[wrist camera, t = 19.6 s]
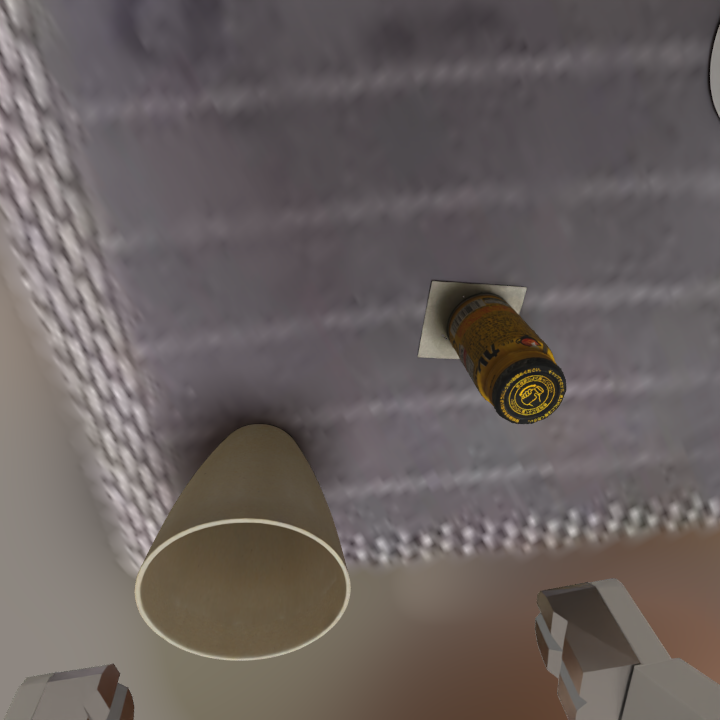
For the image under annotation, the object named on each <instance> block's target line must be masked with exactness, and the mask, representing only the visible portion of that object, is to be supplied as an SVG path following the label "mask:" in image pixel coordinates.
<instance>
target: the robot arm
mask: <svg viewBox="0 0 720 720" xmlns="http://www.w3.org/2000/svg"><path fill="white" fill-rule="evenodd" d="M710 85H711V93H712V98H713V102H714V105H715V108H716V111H717V113H718V115H719V117H720V26H719V28H718V31H717V35H716V38H715V42H714V46H713V51H712V57H711V66H710ZM537 605H538V607H539V609H540V612H541V613H540V614H539V615H538V616H537V617H536V618H535V632H536V638H537V644H538V647H539V650H540V653H541V656H542V658H543V661H544V663H545V666H546V668H547V670H548V671H549V672H551V673H552V674H553V675H555V676H556V677H557V678H558V679H559V683H558V692H557V694H558V697H559V699H560V701H561V703H562V706H563V708H564V710H565V713H566V715H567V717H568V720H720V685H719V684H718V683H716V682H714V681H713V680H712V679H710V678H709V677H707V676H706V675H704V674H703V673H701V672H699V671H698V670H697V669H695V668H694V667H692V666H691V665H689V664H688V663H686V662H685V661H683V660H682V659H680V658H676V659H671V657H670V656H669V654H668V653H667V651H666V650H665V648H664V647H663V645H662V644H661V642H660V641H659V639H658V637H657V636H656V634H655V633H654V631H653V630H652V628H651V627H650V625H649V624H648V622H647V621H646V619H645V618H644V616H643V615H642V613H641V611H640V610H639V608H638V607H637V605H636V604H635V602H634V601H633V599H632V598H631V596H630V595H629V593H628V592H627V590H626V589H625V587H624V586H623V584H622V583H621V582H620V581H618V580H617V579H613V578H612V579H606V580H601V581H596V582H591V583H588V582H586V583H580V584H575V585H570V586H565V587H559V588H554V589H548V590H543V591H540V592H539V593H538V595H537ZM119 677H120V672H119V671H118V670H117V668H116V666H115V665H114V664H108V665H102V666H96V667H89V668H83V669H77V670H70V671H64V672H55V673H49V674H44V675H38V676H32V677H27V678H26V679H25V681H24V682H23V683H22V684H21V686H19V688H18V690H17V692H16V694H15V696H14V698H13V701H12V703H11V705H10V707H9V709H8V711H7V714H6V716H5V718H4V720H134V702H133V697H132V694H131V692H130V690H129V689H128V687H126V686H124V685H121V684H119V683H118V680H119Z"/></svg>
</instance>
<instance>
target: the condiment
mask: <svg viewBox="0 0 720 720" xmlns="http://www.w3.org/2000/svg"><path fill="white" fill-rule="evenodd" d="M526 289H527V288H525V287H513V286H500V285H487V284H468V283H456V282H437V281H432V285H431V290H430V294H429V299H428V304H427V309H426V314H425V320H424V325H423V331H422V337H421V341H420V348H419V353H418V357H425V358H447V359H460V360H461V362H462V363H463V365H464V366H465V368H466V370H467V372H468V373H469V375H470V377H471V379H472V380H473V382H474V384H475V385H476V387H477V389H478V390H479V392H480V393H481V395H482V396H483V397H484V399H485V400H487V401H488V402H490V403H491V404H492V405H493V406H494V408H495V409H496V412H497V413H498V414H499V415H500V416H501V417H502V418H504V419H506V420H508V421H510V422H511V423H516V424H532V423H535V422H537V421H540V420H543V419H545V418H547V417H548V416H549V415H551V414H552V413H553V412H554V411H555V410H556V409H557V408H558V407H559V406H560V404H561V402H562V400H563V397H564V395H565V392H566V380H565V377H564V374H563V372H562V370H561V369H560V367H559V366H557V364H556V363H555V360H554V357H553V354H552V352H551V350H550V349H549V348H548V346H547V345H546V344H545V343H544V341H543V340H542V339H540V338H539V336H538V335H537V334H536V333H535V331H534V330H532V329H531V328H530V327H529V325H528V324H527V323H526V322H525V321H524V320H523V319H522V318H521V317H520V315H519V313H520V310H521V307H522V304H523V300H524V296H525V293H526ZM463 296H464V297H463ZM442 334H443V335H444V336H445V337H447V340H446V339H445V337H443V336H442Z"/></svg>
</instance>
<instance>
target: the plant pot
mask: <svg viewBox="0 0 720 720" xmlns="http://www.w3.org/2000/svg"><path fill="white" fill-rule="evenodd" d="M350 591H351V585H350V578H349V574H348V570H347V567H346V563H345V559H344V555H343V552H342V548H341V545H340V541H339V537H338V534H337V531H336V527H335V524H334V521H333V518H332V515H331V513H330V510H329V507H328V505H327V502H326V500H325V497H324V495H323V492H322V490H321V488H320V486H319V483H318V481H317V479H316V477H315V475H314V473H313V471H312V469H311V467H310V465H309V464H308V462H307V460H306V458H305V457H304V455H303V453H302V452H301V450H300V449H299V447H298V446H297V444H296V443H295V441H294V440H293V439H292V437H291V436H290V435H288V434H287V433H286V432H285V431H283V430H282V429H280V428H277V427H275V426H271V425H266V424H252V425H247V426H244V427H241V428H239V429H237V430H236V431H234V432H233V433H231V434H230V435H229V436H228V437H227V438H226V439H225V440H224V441H223V442H222V443H221V444H220V445H219V446H218V447H217V448H216V449H215V450H214V451H213V452H212V453H211V455H210V456H209V457H208V458H207V459H206V461H205V462H204V463H203V464H202V465H201V467H200V468H199V469H198V471H197V472H196V473H195V475H194V476H193V477H192V479H191V480H190V482H189V483H188V484H187V486H186V487H185V489H184V490H183V492H182V493H181V495H180V496H179V498H178V500H177V501H176V503H175V504H174V506H173V508H172V509H171V511H170V513H169V515H168V516H167V518H166V520H165V522H164V523H163V525H162V527H161V529H160V531H159V533H158V535H157V537H156V538H155V540H154V542H153V544H152V546H151V548H150V550H149V552H148V554H147V556H146V558H145V560H144V562H143V564H142V566H141V568H140V570H139V573H138V575H137V578H136V584H135V599H136V604H137V607H138V610H139V612H140V614H141V616H142V617H143V619H144V620H145V622H146V623H147V624H148V626H149V627H150V628H151V629H152V630H153V631H154V632H155V633H157V634H158V635H159V636H161V637H162V638H164V639H165V640H166V641H167V642H169V643H171V644H173V645H175V646H177V647H178V648H181V649H183V650H185V651H188V652H191V653H194V654H196V655H200V656H204V657H208V658H214V659H221V660H238V661H239V660H257V659H264V658H270V657H275V656H279V655H283V654H286V653H289V652H293V651H295V650H298V649H300V648H302V647H304V646H307V645H308V644H310V643H312V642H314V641H315V640H317V639H318V638H320V637H321V636H323V635H324V634H325V633H326V632H328V631H329V630H330V629H331V628H332V627H333V626H334V625H335V624H336V623H337V622H338V621H339V619H340V618H341V616H342V615H343V613H344V611H345V609H346V607H347V604H348V602H349V597H350Z"/></svg>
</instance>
